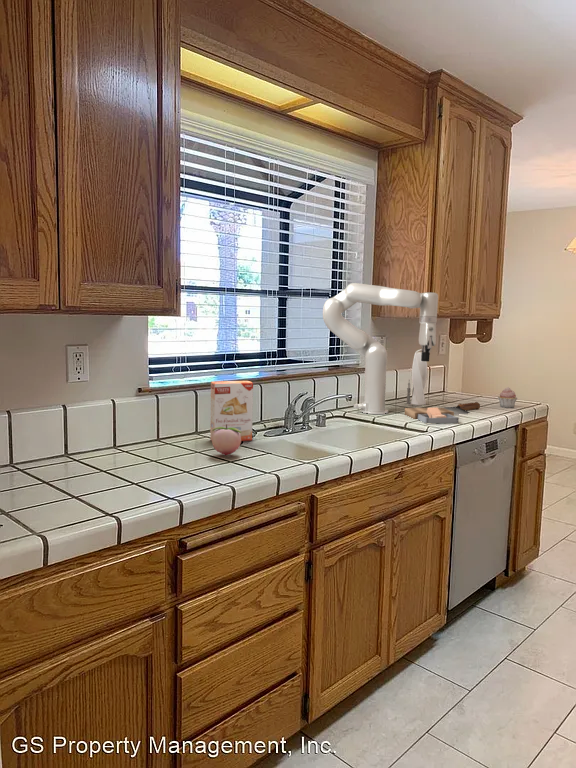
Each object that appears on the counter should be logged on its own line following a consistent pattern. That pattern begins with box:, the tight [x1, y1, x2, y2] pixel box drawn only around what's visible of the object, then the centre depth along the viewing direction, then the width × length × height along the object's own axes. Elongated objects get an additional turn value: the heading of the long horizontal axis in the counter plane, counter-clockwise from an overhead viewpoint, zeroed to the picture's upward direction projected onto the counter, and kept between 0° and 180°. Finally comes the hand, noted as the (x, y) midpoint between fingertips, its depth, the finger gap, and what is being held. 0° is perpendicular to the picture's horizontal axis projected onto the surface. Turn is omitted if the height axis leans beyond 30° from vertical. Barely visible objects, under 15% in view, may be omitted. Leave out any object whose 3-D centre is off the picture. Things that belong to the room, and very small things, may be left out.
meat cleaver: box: [443, 401, 481, 416], centre depth 267 cm, size 34×11×4 cm, turn 124°
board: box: [404, 407, 454, 420], centre depth 254 cm, size 18×12×3 cm, turn 99°
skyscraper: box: [405, 348, 428, 407], centre depth 287 cm, size 8×8×28 cm
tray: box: [417, 414, 459, 424], centre depth 243 cm, size 14×10×2 cm
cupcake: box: [497, 386, 518, 409], centre depth 285 cm, size 9×9×10 cm
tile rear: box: [427, 407, 441, 418], centre depth 246 cm, size 4×4×2 cm
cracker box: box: [209, 380, 254, 442], centre depth 201 cm, size 14×6×21 cm, turn 112°
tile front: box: [432, 414, 447, 418], centre depth 241 cm, size 4×4×2 cm
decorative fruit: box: [211, 424, 242, 456], centre depth 179 cm, size 9×8×10 cm
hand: (425, 361), depth 258 cm, fingers closed
